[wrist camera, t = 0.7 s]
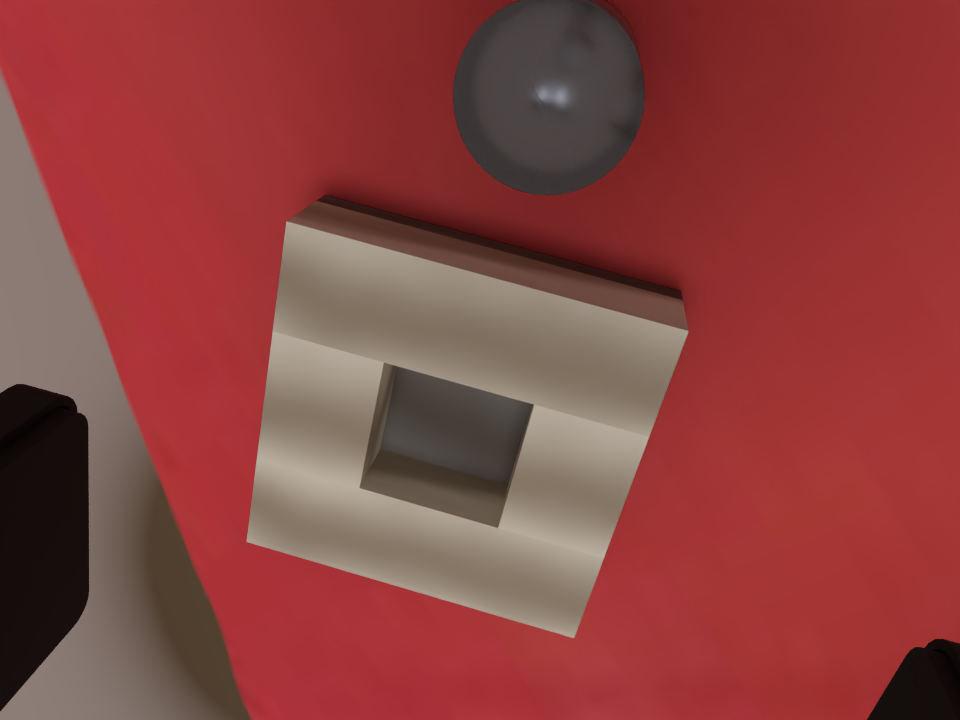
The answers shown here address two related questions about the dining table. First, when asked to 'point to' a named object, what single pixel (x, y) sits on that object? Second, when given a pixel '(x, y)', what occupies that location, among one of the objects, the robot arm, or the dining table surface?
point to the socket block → (455, 410)
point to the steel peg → (550, 94)
